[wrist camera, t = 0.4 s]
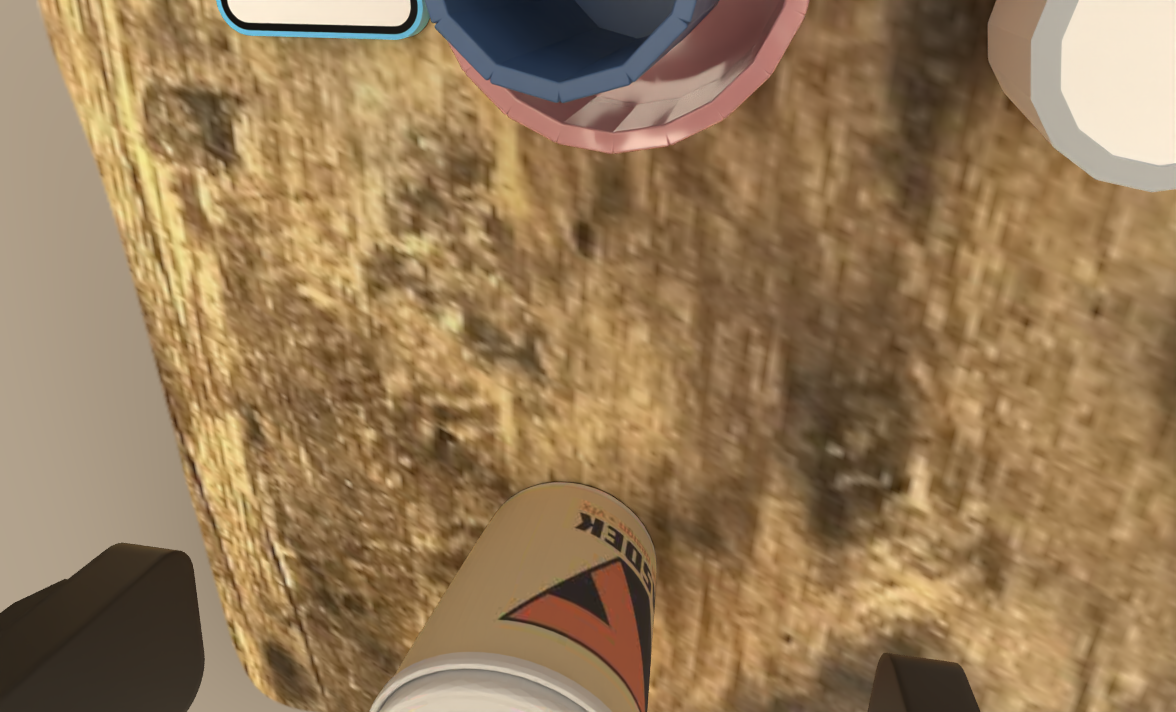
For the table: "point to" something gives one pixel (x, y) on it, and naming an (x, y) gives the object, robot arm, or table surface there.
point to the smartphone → (326, 18)
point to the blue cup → (565, 40)
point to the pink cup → (667, 83)
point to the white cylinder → (1094, 82)
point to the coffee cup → (540, 614)
